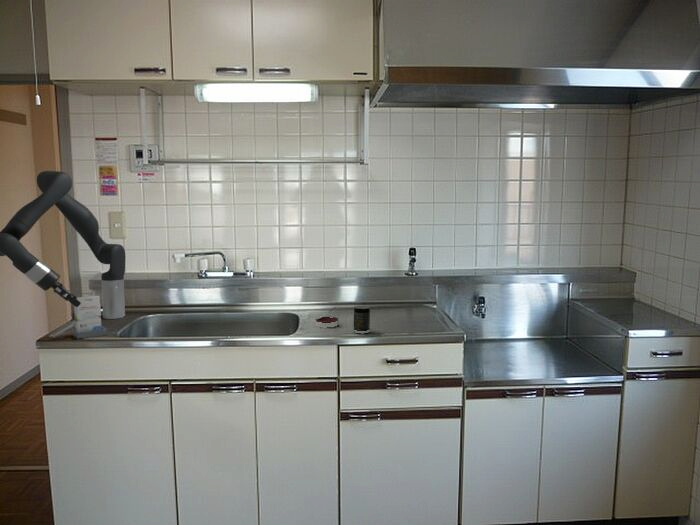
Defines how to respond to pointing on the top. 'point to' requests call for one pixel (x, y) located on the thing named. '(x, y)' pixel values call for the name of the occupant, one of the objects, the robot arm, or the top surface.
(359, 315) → the supplement container
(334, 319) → the canned food
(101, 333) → the tray
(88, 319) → the ink box
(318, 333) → the top surface
